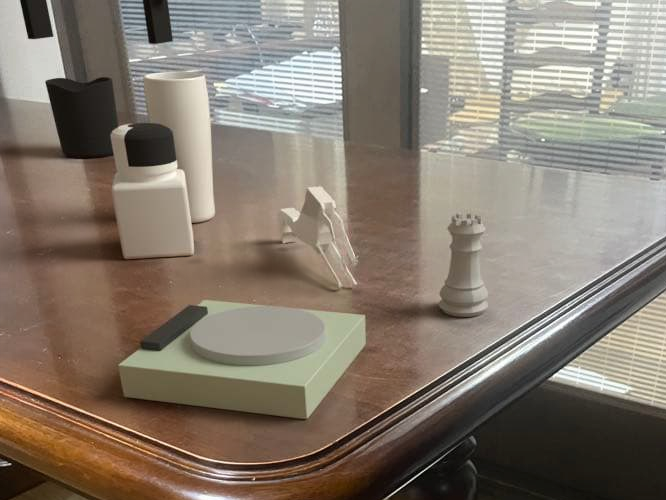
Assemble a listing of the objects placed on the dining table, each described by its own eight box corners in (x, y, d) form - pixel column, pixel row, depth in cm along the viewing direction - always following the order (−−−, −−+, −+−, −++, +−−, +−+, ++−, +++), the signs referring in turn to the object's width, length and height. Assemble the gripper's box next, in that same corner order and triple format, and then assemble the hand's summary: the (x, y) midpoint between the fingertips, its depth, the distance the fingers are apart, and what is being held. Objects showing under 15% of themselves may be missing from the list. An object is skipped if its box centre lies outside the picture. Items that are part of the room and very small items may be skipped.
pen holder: (89, 162, 129) (75, 86, 123) (47, 154, 133) (31, 81, 128) (137, 151, 136) (125, 78, 130) (95, 144, 140) (82, 74, 134)
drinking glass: (152, 217, 103) (130, 75, 95) (202, 208, 107) (185, 69, 99) (182, 229, 99) (161, 81, 91) (233, 218, 103) (217, 75, 94)
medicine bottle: (193, 237, 97) (177, 118, 90) (194, 256, 91) (177, 130, 84) (126, 241, 95) (105, 120, 89) (123, 260, 90) (100, 133, 83)
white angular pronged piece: (349, 340, 88) (291, 229, 96) (362, 246, 79) (297, 132, 87) (332, 343, 87) (275, 230, 96) (343, 249, 78) (279, 133, 86)
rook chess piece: (496, 315, 77) (502, 221, 72) (449, 321, 75) (452, 225, 71) (476, 298, 80) (480, 208, 76) (430, 304, 79) (432, 212, 74)
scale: (123, 397, 63) (115, 354, 61) (207, 328, 74) (202, 289, 72) (307, 419, 60) (304, 375, 58) (366, 344, 71) (365, 305, 69)
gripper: (206, -268, 69) (236, 40, 81) (-41, -247, 77) (21, 32, 89) (150, -286, 63) (191, 48, 75) (-110, -262, 71) (-35, 39, 83)
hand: (99, 40), depth 82 cm, fingers open, 13 cm apart
